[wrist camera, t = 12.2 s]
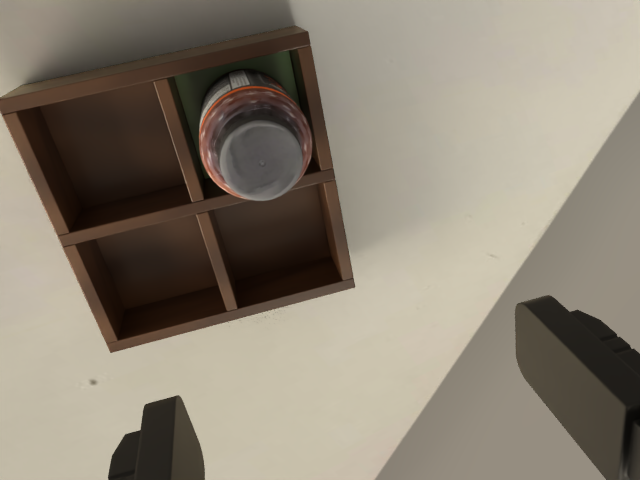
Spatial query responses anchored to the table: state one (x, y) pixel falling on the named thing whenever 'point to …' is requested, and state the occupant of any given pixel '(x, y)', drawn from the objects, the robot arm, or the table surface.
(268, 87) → the supplement bottle
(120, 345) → the box
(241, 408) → the table surface
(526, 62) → the table surface
